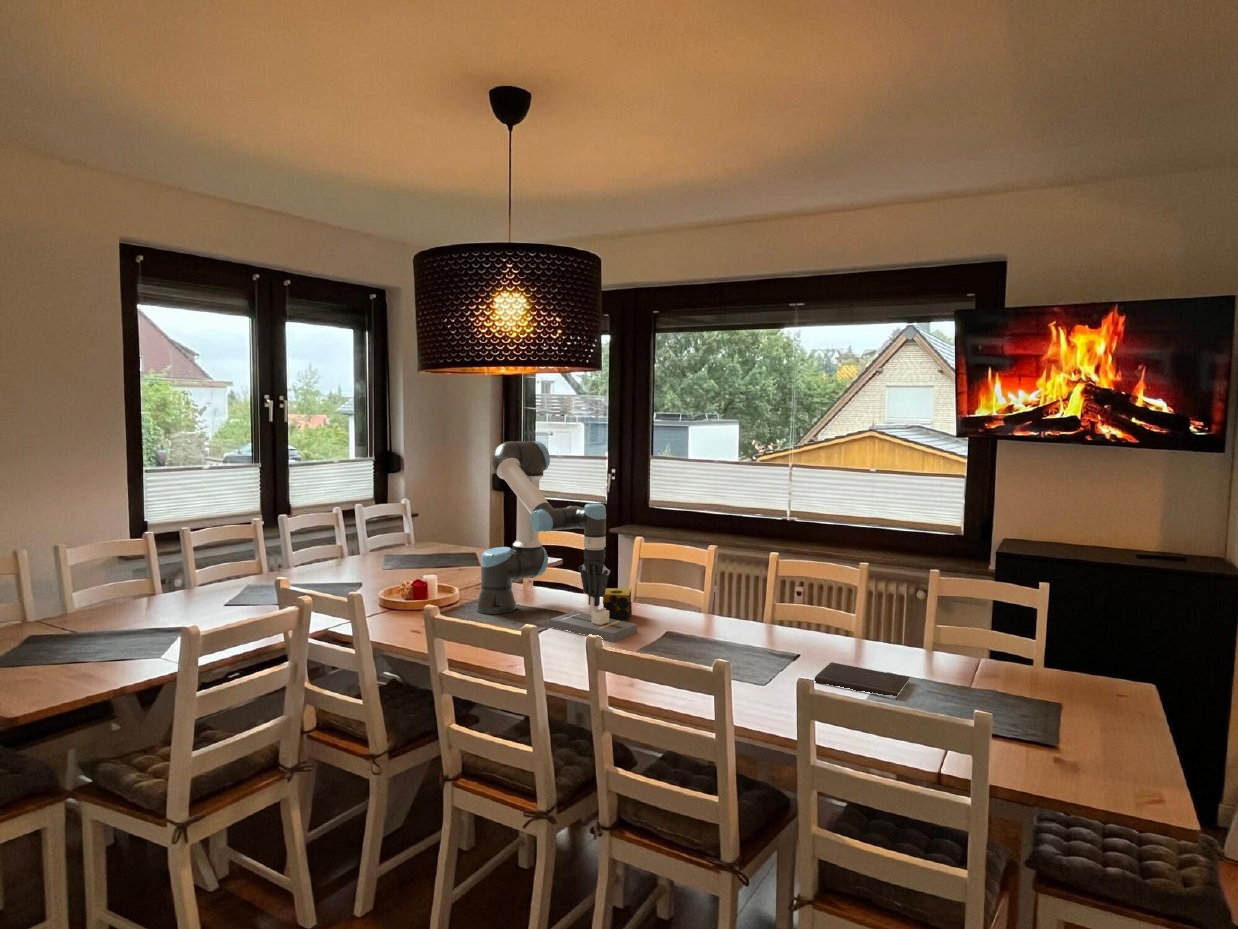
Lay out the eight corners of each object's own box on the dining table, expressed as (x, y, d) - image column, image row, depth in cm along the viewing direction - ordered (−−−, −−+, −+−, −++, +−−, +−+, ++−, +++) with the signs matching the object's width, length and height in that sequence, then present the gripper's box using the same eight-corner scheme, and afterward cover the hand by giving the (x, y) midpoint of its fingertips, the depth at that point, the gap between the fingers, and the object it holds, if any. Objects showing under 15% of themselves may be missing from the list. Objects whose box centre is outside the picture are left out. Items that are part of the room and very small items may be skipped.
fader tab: (591, 623, 268) (591, 610, 268) (600, 619, 273) (600, 607, 272) (600, 625, 266) (600, 611, 266) (609, 621, 270) (609, 609, 270)
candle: (631, 614, 293) (632, 588, 292) (629, 621, 283) (630, 595, 282) (605, 613, 294) (605, 587, 293) (602, 620, 284) (602, 594, 283)
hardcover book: (830, 669, 236) (831, 662, 236) (909, 684, 224) (909, 677, 223) (814, 684, 222) (814, 676, 222) (896, 701, 210) (897, 693, 210)
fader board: (549, 627, 274) (549, 618, 274) (574, 619, 285) (574, 610, 285) (613, 642, 258) (613, 633, 257) (637, 632, 269) (637, 624, 269)
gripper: (573, 547, 270) (572, 613, 271) (603, 551, 262) (602, 620, 264) (586, 544, 276) (585, 609, 277) (616, 548, 268) (615, 615, 270)
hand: (594, 614), depth 271 cm, fingers closed
